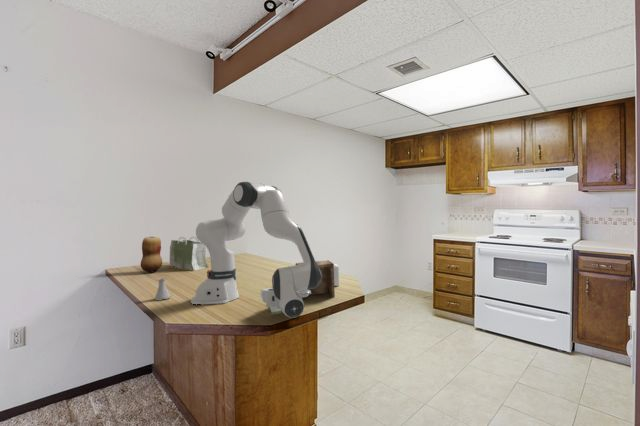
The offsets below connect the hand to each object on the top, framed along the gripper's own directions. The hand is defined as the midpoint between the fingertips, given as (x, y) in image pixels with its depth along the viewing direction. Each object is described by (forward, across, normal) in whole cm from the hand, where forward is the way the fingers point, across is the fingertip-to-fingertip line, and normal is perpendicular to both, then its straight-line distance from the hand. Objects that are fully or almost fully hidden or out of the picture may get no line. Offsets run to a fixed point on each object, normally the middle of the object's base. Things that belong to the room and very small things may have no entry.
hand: (282, 287), depth 141 cm
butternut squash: (+105, +78, +8) cm, 131 cm away
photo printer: (+24, -29, +8) cm, 39 cm away
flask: (+32, +56, +9) cm, 65 cm away
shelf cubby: (+9, -17, +8) cm, 21 cm away
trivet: (-1, 0, +8) cm, 8 cm away
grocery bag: (+113, +55, +8) cm, 126 cm away
